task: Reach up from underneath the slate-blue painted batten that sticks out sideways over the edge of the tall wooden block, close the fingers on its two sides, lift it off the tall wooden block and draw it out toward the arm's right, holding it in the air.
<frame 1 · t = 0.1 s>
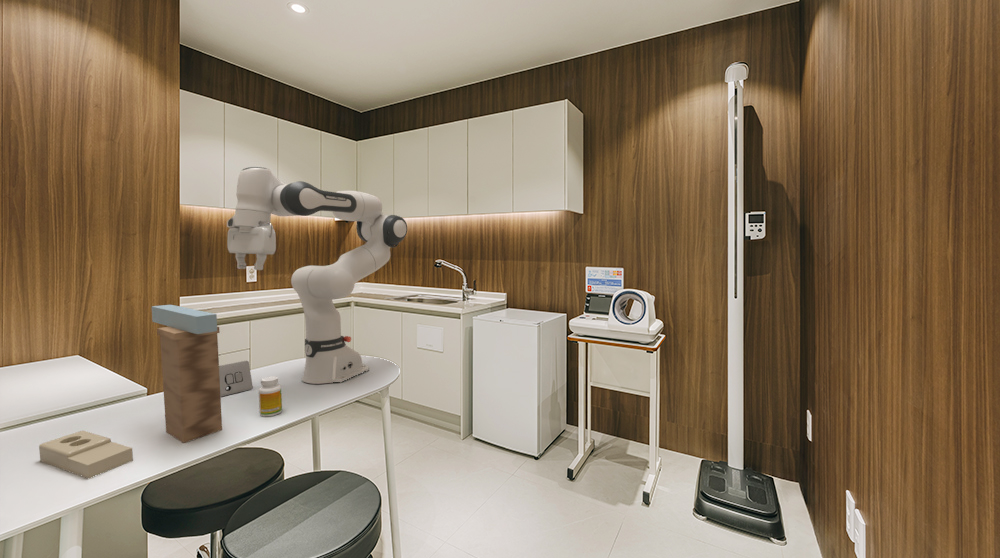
hand: (249, 269, 115), 39 cm above the table, tool pointing down, fingers open, 8 cm apart
supplement bottle: (271, 413, 109), on the table
tall wooden block: (194, 430, 98), on the table
electrical outlet: (86, 463, 84), on the table
electrical switch: (232, 392, 124), on the table
batten: (183, 326, 97), point 26 cm above the table, touching tall wooden block
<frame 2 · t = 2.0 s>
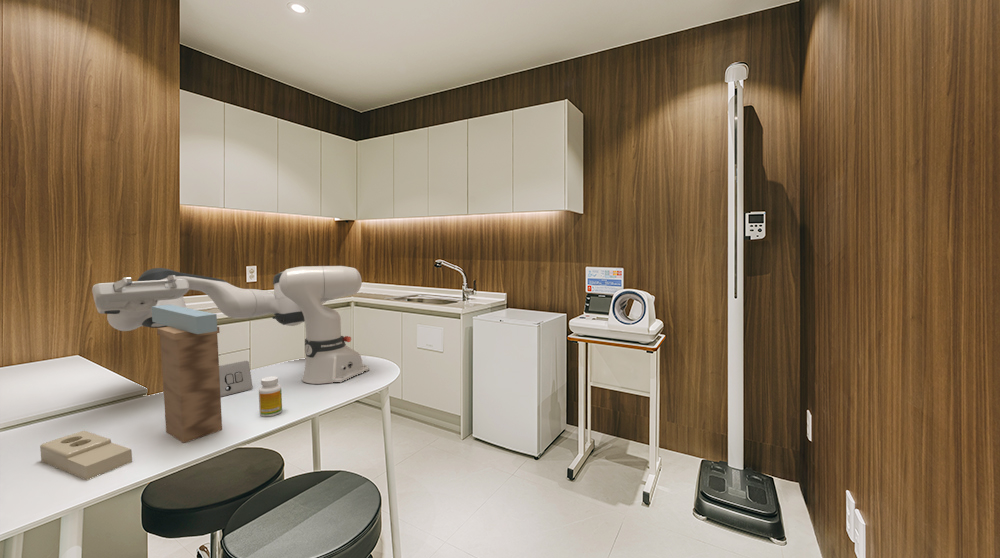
hand: (151, 278, 107), 37 cm above the table, tool pointing upward, fingers open, 8 cm apart
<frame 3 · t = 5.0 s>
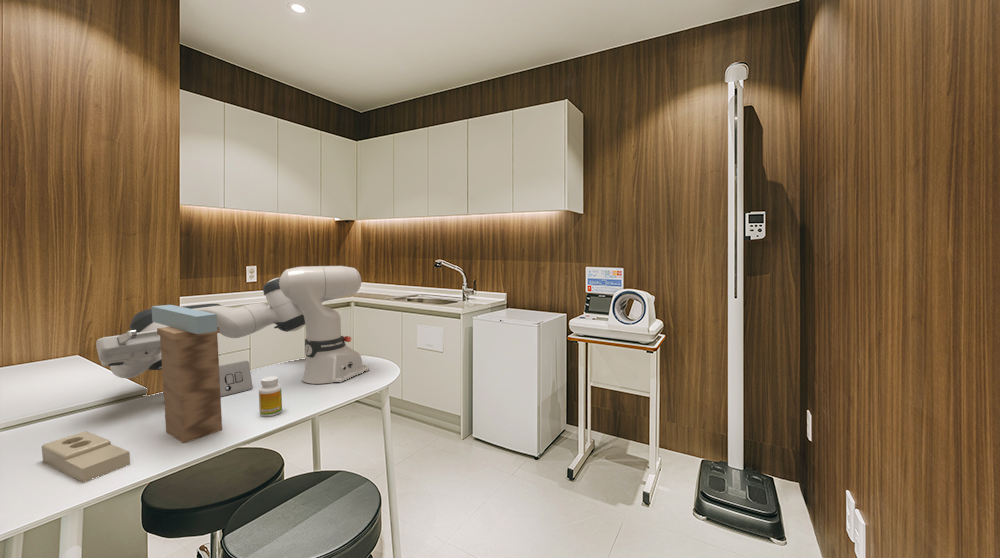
hand: (155, 329, 106), 23 cm above the table, tool pointing upward, fingers open, 8 cm apart
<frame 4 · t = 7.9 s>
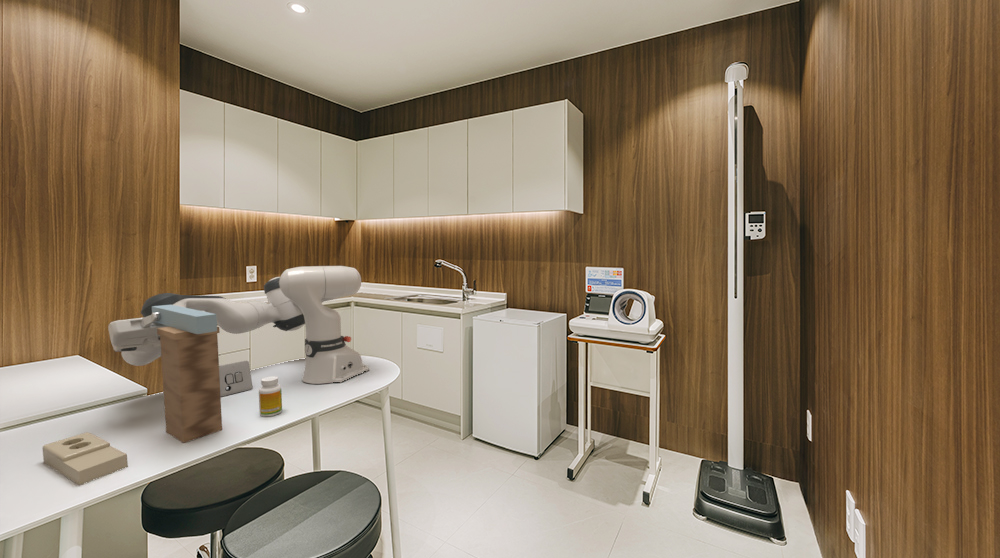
hand: (170, 313, 101), 28 cm above the table, tool pointing upward, fingers closed on batten, 4 cm apart
batten: (183, 326, 97), point 26 cm above the table, touching gripper, tall wooden block
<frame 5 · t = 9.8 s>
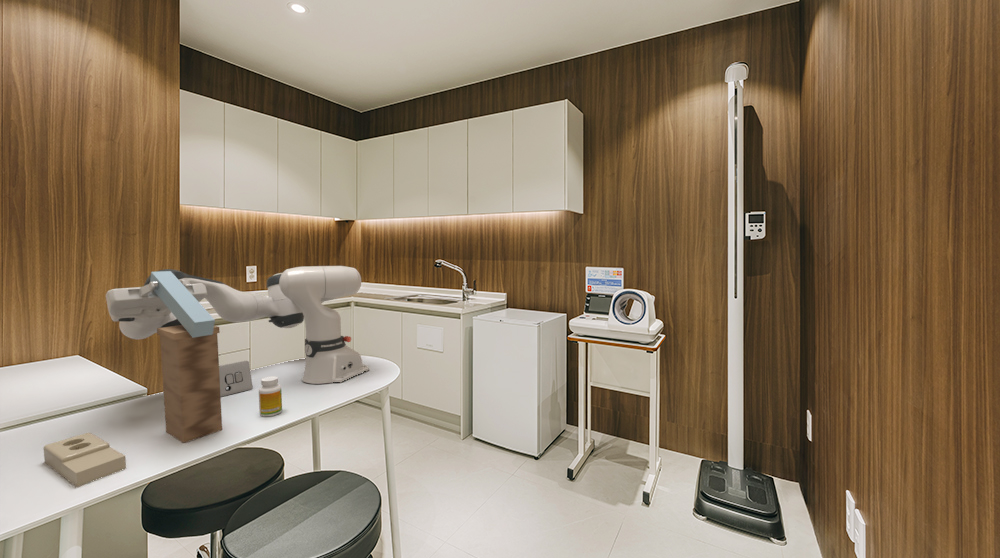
hand: (168, 283, 100), 36 cm above the table, tool pointing upward, fingers closed on batten, 4 cm apart
batten: (179, 309, 98), point 30 cm above the table, tilted 24°, touching gripper, tall wooden block
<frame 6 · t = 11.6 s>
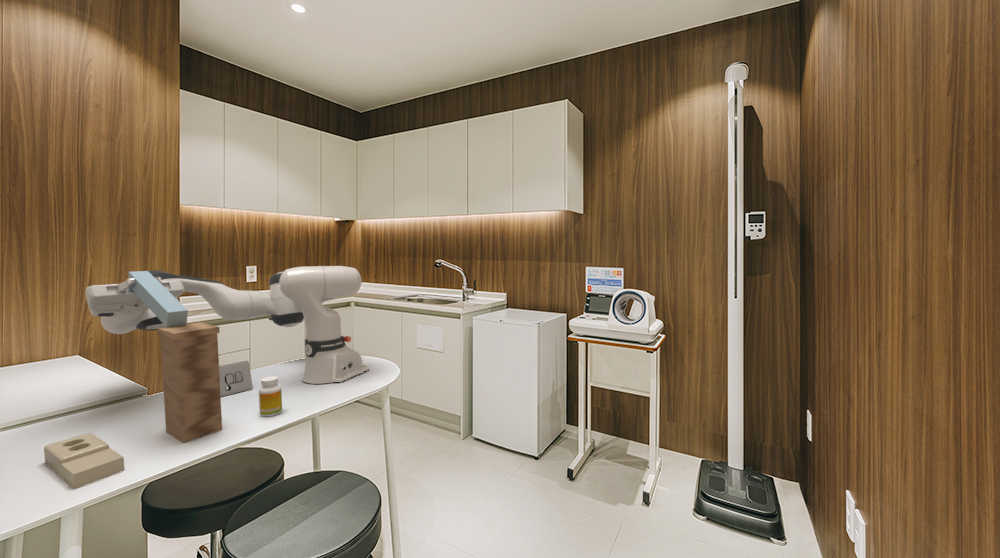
hand: (145, 280, 106), 36 cm above the table, tool pointing upward, fingers closed on batten, 4 cm apart
batten: (156, 304, 103), point 30 cm above the table, tilted 20°, touching gripper
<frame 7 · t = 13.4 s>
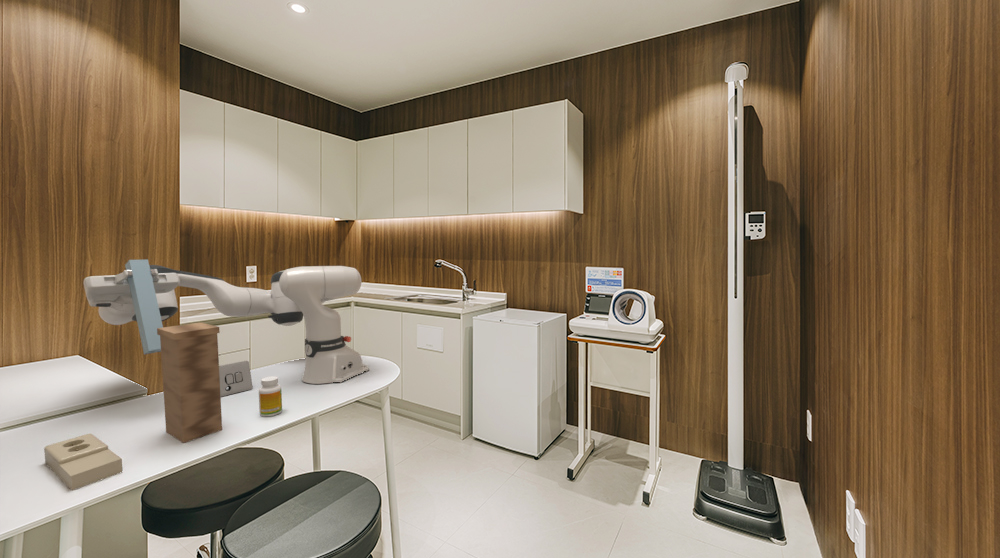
hand: (141, 271, 110), 38 cm above the table, tool pointing upward, fingers closed on batten, 4 cm apart
batten: (143, 308, 111), point 28 cm above the table, tilted 67°, touching gripper
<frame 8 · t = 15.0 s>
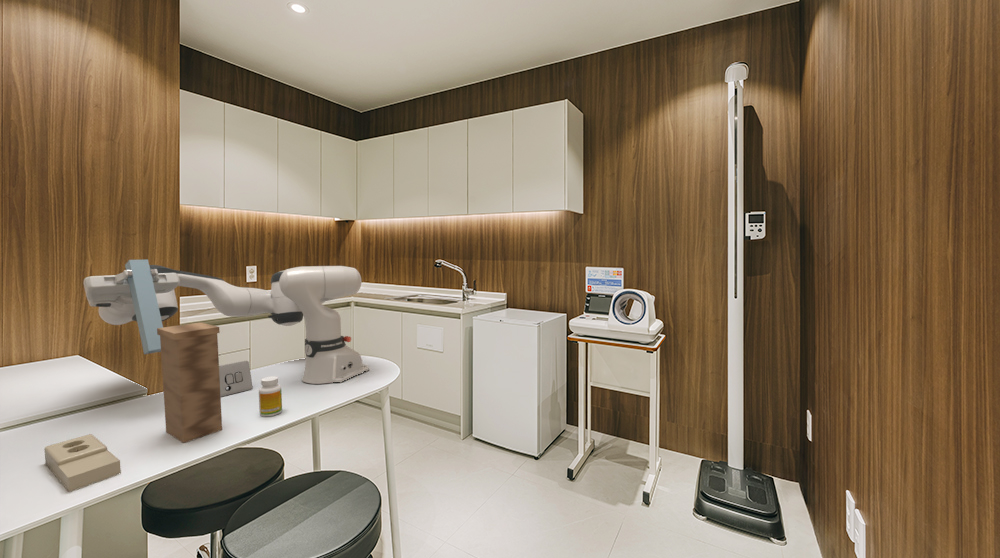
hand: (141, 271, 110), 38 cm above the table, tool pointing upward, fingers closed on batten, 4 cm apart
batten: (143, 308, 111), point 28 cm above the table, tilted 67°, touching gripper
at the end: the gripper is holding batten; batten touching gripper; batten inside the target area (7.1 cm from its centre), point 28.1 cm above the table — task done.
